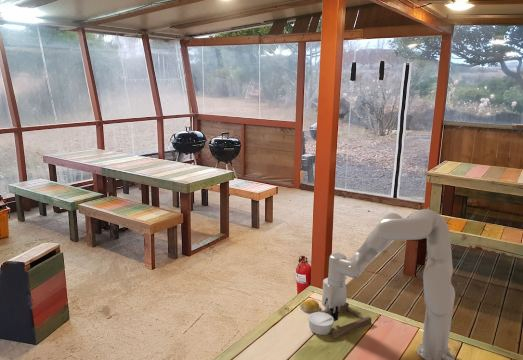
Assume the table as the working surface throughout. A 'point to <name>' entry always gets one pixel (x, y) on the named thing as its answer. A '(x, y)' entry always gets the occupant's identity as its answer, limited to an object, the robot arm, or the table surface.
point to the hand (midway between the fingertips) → (334, 319)
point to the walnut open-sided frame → (350, 326)
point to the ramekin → (320, 323)
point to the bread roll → (309, 306)
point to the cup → (324, 289)
